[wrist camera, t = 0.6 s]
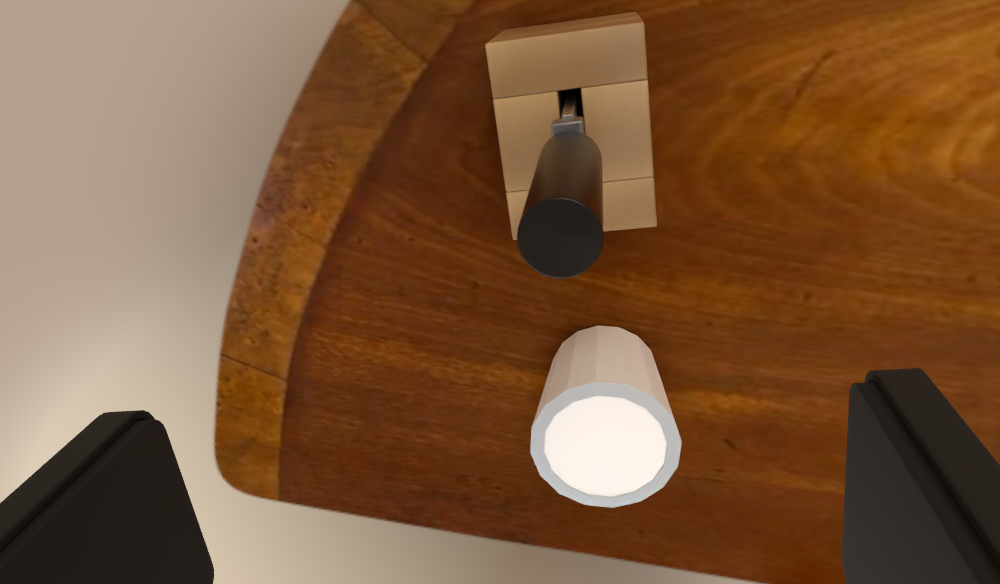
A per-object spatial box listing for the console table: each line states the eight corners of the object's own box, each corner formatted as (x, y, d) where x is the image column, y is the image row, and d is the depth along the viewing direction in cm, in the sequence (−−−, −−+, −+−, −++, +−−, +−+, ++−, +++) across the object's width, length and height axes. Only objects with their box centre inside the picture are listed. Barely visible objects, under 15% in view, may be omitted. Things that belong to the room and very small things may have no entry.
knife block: (502, 30, 34) (484, 43, 29) (636, 11, 33) (644, 21, 28) (525, 199, 37) (512, 240, 32) (648, 186, 36) (657, 227, 31)
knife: (550, 80, 35) (509, 186, 19) (598, 74, 35) (597, 177, 18) (557, 145, 36) (524, 296, 20) (604, 139, 36) (608, 290, 20)
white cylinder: (646, 439, 42) (655, 524, 36) (526, 408, 42) (514, 488, 36) (686, 333, 39) (703, 405, 33) (558, 300, 39) (550, 366, 33)
